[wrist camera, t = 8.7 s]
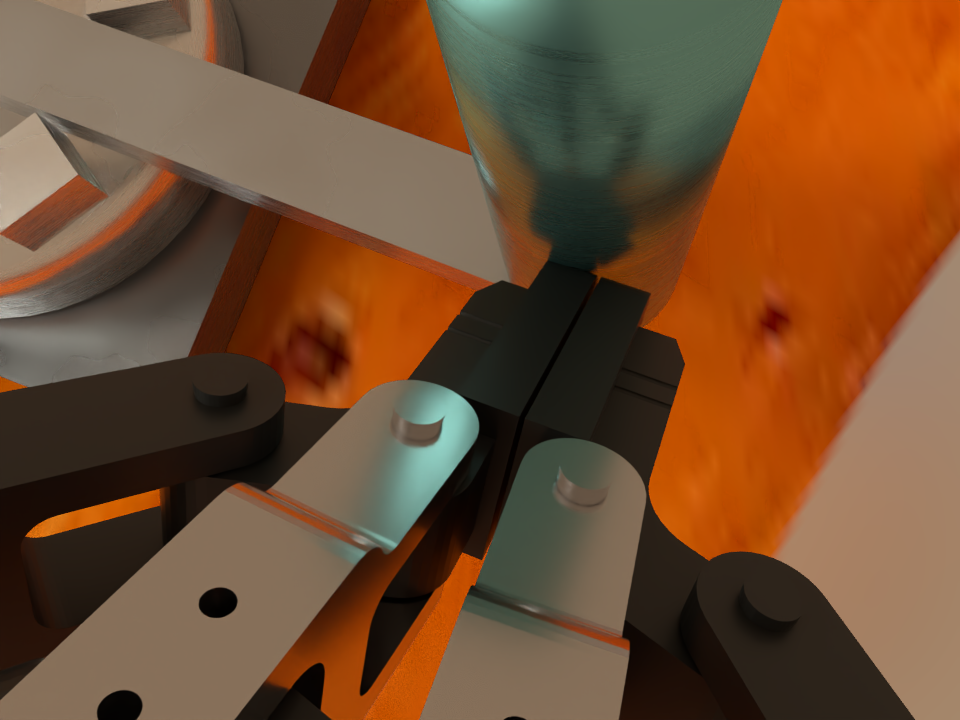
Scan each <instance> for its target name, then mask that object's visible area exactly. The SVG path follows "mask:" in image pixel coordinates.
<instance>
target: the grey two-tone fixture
mask: <svg viewBox="0 0 960 720" xmlns="http://www.w3.org/2000/svg"><path fill="white" fill-rule="evenodd" d="M426 2H427V5H428V8H429V12H430V15H431V19H432V22H433V25H434V29H435V32H436V35H437V39H438V42H439V46H440V49H441V52H442V56H443V59H444V62H445V66H446V69H447V72H448V76H449V79H450V83H451V86H452V89H453V93H454V96H455V99H456V103H457V106H458V110H459V113H460V116H461V120H462V123H463V126H464V130H465V133H466V136H467V140H468V143H469V147H470V150H471V153H472V155H469V154H466V153H463V152H461V151H458V150H455V149H452V148H449V147H447V146H444V145H441V144H438V143H435V142H433V141H430V140H427V139H424V138H421V137H418V136H416V135H413V134H410V133H407V132H404V131H402V130H399V129H396V128H393V127H390V126H387V125H385V124H382V123H379V122H376V121H373V120H371V119H368V118H365V117H362V116H359V115H356V114H354V113H351V112H348V111H345V110H342V109H340V108H337V107H334V106H331V105H328V104H325V103H323V102H320V101H317V100H314V99H311V98H309V97H306V96H303V95H300V94H297V93H294V92H292V91H289V90H286V89H283V88H280V87H278V86H275V85H272V84H269V83H266V82H263V81H261V80H258V79H255V78H252V77H249V76H247V75H244V58H243V51H242V44H241V37H240V32H239V29H238V25H237V22H236V18H235V15H234V12H233V8H232V6H231V4H230V2H229V0H0V318H12V317H24V316H32V315H36V314H41V313H45V312H50V311H54V310H59V309H62V308H65V307H67V306H70V305H73V304H76V303H79V302H81V301H84V300H87V299H89V298H91V297H93V296H95V295H97V294H99V293H101V292H103V291H105V290H107V289H109V288H111V287H113V286H115V285H117V284H118V283H120V282H121V281H123V280H124V279H126V278H127V277H129V276H130V275H132V274H133V273H135V272H136V271H138V270H139V269H141V268H142V267H143V266H145V265H146V264H147V263H148V262H149V261H150V260H152V259H153V258H154V257H155V256H156V255H158V254H159V253H160V252H161V251H162V250H163V249H165V248H166V247H167V246H168V245H169V244H170V242H171V241H172V240H173V239H174V238H175V237H176V236H177V235H178V234H179V233H180V232H181V231H182V230H183V228H184V227H185V226H186V225H187V224H188V223H189V221H190V220H191V219H192V217H193V216H194V215H195V213H196V212H197V210H198V209H199V208H200V206H201V205H202V204H203V202H204V201H205V200H206V198H207V196H208V194H209V193H210V191H211V189H214V190H217V191H220V192H222V193H225V194H227V195H230V196H233V197H235V198H238V199H240V200H243V201H246V202H248V203H251V204H253V205H256V206H259V207H261V208H264V209H266V210H269V211H272V212H274V213H277V214H279V215H282V216H285V217H287V218H290V219H292V220H295V221H298V222H300V223H303V224H305V225H308V226H311V227H313V228H316V229H318V230H321V231H324V232H326V233H329V234H331V235H334V236H337V237H339V238H342V239H344V240H347V241H350V242H352V243H355V244H357V245H360V246H363V247H365V248H368V249H370V250H373V251H376V252H378V253H381V254H383V255H386V256H389V257H391V258H394V259H396V260H399V261H402V262H404V263H407V264H409V265H412V266H415V267H417V268H420V269H422V270H425V271H428V272H430V273H433V274H435V275H438V276H441V277H443V278H446V279H448V280H451V281H454V282H456V283H459V284H461V285H464V286H467V287H469V288H472V289H474V290H477V291H478V290H481V289H483V288H485V287H487V286H490V285H492V284H494V283H496V282H499V281H501V280H504V281H506V282H509V283H512V284H515V285H518V286H521V287H524V288H527V289H528V288H529V287H530V285H531V284H532V282H533V281H534V279H535V278H536V276H537V275H538V273H539V272H540V270H541V269H542V267H543V266H544V264H545V263H546V262H547V260H548V261H551V262H554V263H557V264H560V265H563V266H567V267H571V268H575V269H578V270H582V271H585V272H589V273H592V274H595V275H598V281H597V283H598V282H599V280H600V278H601V277H604V278H607V279H610V280H613V281H616V282H619V283H622V284H625V285H628V286H631V287H634V288H637V289H640V290H643V291H646V292H649V293H651V296H650V300H649V303H648V306H647V309H646V312H645V315H644V318H643V321H642V324H641V327H644V326H645V325H647V324H648V323H649V322H650V321H651V320H653V319H654V318H655V317H656V316H657V315H658V314H659V312H660V311H661V310H662V309H663V308H664V306H665V305H666V303H667V302H668V300H669V299H670V297H671V295H672V293H673V291H674V288H675V286H676V283H677V280H678V278H679V275H680V272H681V270H682V267H683V264H684V262H685V259H686V256H687V254H688V251H689V248H690V246H691V243H692V240H693V238H694V235H695V232H696V230H697V227H698V224H699V222H700V219H701V216H702V214H703V211H704V208H705V206H706V203H707V200H708V198H709V195H710V192H711V190H712V187H713V184H714V182H715V179H716V176H717V174H718V171H719V168H720V166H721V163H722V160H723V158H724V155H725V152H726V150H727V147H728V144H729V142H730V139H731V136H732V134H733V131H734V128H735V126H736V123H737V120H738V118H739V115H740V112H741V110H742V107H743V104H744V102H745V99H746V96H747V94H748V91H749V88H750V86H751V83H752V80H753V78H754V75H755V72H756V70H757V67H758V64H759V62H760V59H761V56H762V54H763V51H764V48H765V46H766V43H767V40H768V38H769V35H770V32H771V30H772V27H773V24H774V22H775V19H776V16H777V14H778V11H779V8H780V6H781V3H782V0H426Z"/></svg>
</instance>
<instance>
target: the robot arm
mask: <svg viewBox="0 0 960 720" xmlns="http://www.w3.org/2000/svg"><path fill="white" fill-rule="evenodd" d="M597 281H598V275H595V274H592V273H589V272H585V271H582V270H578V269H575V268H571V267H567V266H563V265H560V264H557V263H554V262H551V261H548V260H547V262H546V263H545V264H544V266H543V267H542V269H541V270H540V272H539V273H538V275H537V276H536V278H535V279H534V281H533V282H532V284H531V285H530V287H529V288H528V289H527V288H524V287H521V286H518V285H515V284H512V283H509V282H506V281H504V280H501V281H499V282H496V283H494V284H492V285H490V286H487V287H485V288H483V289H481V290H478V291H476V292H475V293H474V294H473V296H472V297H471V298H470V300H469V301H468V302H467V303H466V305H465V306H464V307H463V309H462V310H461V312H460V315H457V316H456V318H455V319H454V320H453V322H452V323H451V324H450V325H449V328H448V330H446V331H445V332H444V333H443V334H442V336H441V337H440V338H439V340H438V341H437V342H436V343H435V345H434V346H433V347H432V349H431V350H430V351H429V353H428V354H427V355H426V356H425V358H424V359H423V360H422V362H421V363H420V364H419V365H418V367H417V368H416V369H415V371H414V372H413V373H412V375H411V376H410V377H409V378H408V380H400V381H393V382H388V383H385V384H382V385H379V386H377V387H375V388H373V389H371V390H370V391H368V392H367V393H366V394H365V395H364V396H363V397H362V398H361V399H360V400H359V401H358V402H357V403H356V404H355V405H354V406H353V407H352V408H345V409H338V408H326V407H319V406H311V405H304V404H296V403H289V402H285V394H286V391H285V385H284V383H283V381H282V379H281V377H280V376H279V375H278V373H277V372H276V371H275V370H273V369H272V368H271V367H270V366H268V365H267V364H265V363H263V362H261V361H259V360H257V359H254V358H251V357H248V356H244V355H239V354H233V353H209V354H201V355H196V356H191V357H185V358H180V359H175V360H170V361H164V362H159V363H154V364H149V365H143V366H138V367H133V368H127V369H122V370H117V371H112V372H106V373H101V374H96V375H91V376H85V377H80V378H75V379H70V380H64V381H59V382H54V383H49V384H43V385H38V386H33V387H28V388H22V389H17V390H12V391H7V392H1V393H0V720H364V718H365V716H366V714H367V713H368V711H369V710H370V708H371V706H372V705H373V703H374V702H375V700H376V699H377V697H378V696H379V694H380V692H381V691H382V689H383V688H384V686H385V685H386V683H387V682H388V680H389V678H390V677H391V675H392V674H393V672H394V671H395V669H396V667H397V666H398V664H399V663H400V661H401V660H402V658H403V657H404V655H405V653H406V652H407V650H408V649H409V647H410V646H411V644H412V643H413V641H414V639H415V638H416V636H417V635H418V633H419V632H420V630H421V629H422V627H423V625H424V624H425V622H426V621H427V619H428V618H429V616H430V615H431V613H432V611H433V610H434V608H435V607H436V605H437V604H438V602H439V600H440V598H441V594H442V590H443V586H444V582H445V581H446V580H447V579H448V577H449V576H450V574H451V572H452V570H453V569H454V567H455V565H456V563H457V561H458V559H459V557H460V555H461V553H462V552H463V553H466V554H468V555H470V556H473V557H475V558H478V559H480V560H482V559H483V557H484V555H485V553H486V551H487V549H488V547H489V545H490V543H491V545H490V547H489V550H488V553H487V555H486V558H485V561H484V563H483V566H482V569H481V571H480V574H479V577H478V579H477V582H476V584H475V586H471V587H470V589H469V591H468V594H467V596H466V598H465V601H464V603H463V606H462V608H461V611H460V614H459V616H458V619H457V622H456V624H455V627H454V629H453V632H452V635H451V637H450V640H449V643H448V645H447V648H446V651H445V653H444V656H443V658H442V661H441V664H440V666H439V669H438V672H437V674H436V677H435V680H434V682H433V685H432V687H431V690H430V693H429V695H428V698H427V701H426V703H425V706H424V709H423V711H422V714H421V716H420V719H419V720H915V719H914V718H913V716H912V715H911V714H910V712H909V711H908V709H907V708H906V707H905V705H904V704H903V703H902V701H901V700H900V698H899V697H898V696H897V695H896V693H895V692H894V690H893V689H892V688H891V686H890V685H889V684H888V682H887V681H886V680H885V678H884V677H883V675H882V674H881V673H880V671H879V670H878V669H877V667H876V666H875V664H874V663H873V662H872V660H871V659H870V658H869V656H868V655H867V654H866V653H865V651H864V649H863V648H862V647H861V645H860V644H859V643H858V642H857V640H856V639H855V637H854V636H853V634H852V633H851V632H850V630H849V629H848V628H847V626H846V625H845V624H844V622H843V621H842V619H841V618H840V617H839V615H838V614H837V613H836V611H835V610H834V609H833V607H832V606H831V605H830V603H829V602H828V600H827V599H826V598H825V596H824V595H823V594H822V593H821V592H820V590H819V589H818V588H817V587H816V586H815V585H814V584H813V583H812V582H811V581H810V580H809V579H807V578H806V577H805V576H804V575H802V574H801V573H800V572H798V571H797V570H795V569H793V568H792V567H790V566H788V565H787V564H785V563H783V562H781V561H778V560H776V559H774V558H771V557H768V556H765V555H761V554H757V553H752V552H729V553H725V554H721V555H719V556H717V557H714V558H712V559H711V560H710V561H708V560H707V559H705V558H704V557H702V556H701V555H699V554H698V553H696V552H695V551H694V550H692V549H691V548H689V547H688V546H686V545H685V544H684V543H682V542H681V541H680V540H678V539H677V538H676V537H675V536H674V535H673V534H672V533H671V532H670V531H669V530H668V529H667V528H666V527H665V526H664V524H663V523H662V522H661V521H660V519H659V518H658V516H657V515H656V513H655V511H654V509H653V507H652V504H651V501H650V497H649V488H648V486H649V480H650V476H651V473H652V470H653V466H654V463H655V460H656V457H657V453H658V450H659V447H660V444H661V440H662V437H663V434H664V431H665V427H666V424H667V421H668V417H669V414H670V411H671V407H672V404H673V401H674V398H675V395H676V391H677V388H678V385H679V382H680V378H681V375H682V372H683V369H684V365H685V363H684V360H683V358H682V355H681V352H680V349H679V346H678V344H677V341H676V339H674V338H671V337H668V336H665V335H662V334H659V333H656V332H653V331H650V330H647V329H644V328H642V327H641V324H642V321H643V318H644V315H645V312H646V309H647V306H648V303H649V300H650V296H651V293H649V292H646V291H643V290H640V289H637V288H634V287H631V286H628V285H625V284H622V283H619V282H616V281H613V280H610V279H607V278H604V277H601V278H600V280H599V282H598V283H597ZM156 489H160V504H161V506H157V507H153V508H150V509H146V510H142V511H139V512H135V513H131V514H128V515H124V516H120V517H116V518H113V519H109V520H105V521H102V522H98V523H94V524H91V525H87V526H83V527H80V528H76V529H72V530H69V531H65V532H61V533H58V534H54V535H50V536H46V537H40V538H30V537H25V536H26V534H27V533H28V532H29V531H30V530H31V529H32V528H33V527H35V526H36V525H37V524H39V523H41V522H42V521H44V520H46V519H48V518H51V517H54V516H57V515H61V514H64V513H68V512H72V511H76V510H80V509H84V508H87V507H91V506H95V505H99V504H103V503H106V502H110V501H114V500H118V499H122V498H126V497H129V496H133V495H137V494H141V493H145V492H149V491H152V490H156ZM491 541H492V542H491Z"/></svg>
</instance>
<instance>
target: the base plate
mask: <svg viewBox="0 0 960 720" xmlns="http://www.w3.org/2000/svg"><path fill="white" fill-rule="evenodd" d="M229 2H230V4H231V6H232V8H233V12H234V15H235V18H236V22H237V25H238V29H239V32H240V37H241V44H242V51H243V58H244V75H247V76H249V77H252V78H255V79H258V80H261V81H263V82H266V83H269V84H272V85H275V86H278V87H280V88H283V89H286V90H289V91H292V92H294V93H297V94H300V95H303V96H306V97H309V98H311V99H314V100H317V101H320V102H323V103H325V104H328V102H329V99H330V97H331V94H332V92H333V89H334V87H335V85H336V82H337V80H338V77H339V75H340V73H341V70H342V68H343V65H344V63H345V61H346V58H347V56H348V53H349V51H350V48H351V46H352V44H353V41H354V39H355V36H356V34H357V32H358V29H359V27H360V24H361V22H362V19H363V17H364V15H365V12H366V10H367V7H368V5H369V3H370V0H229ZM280 217H281V215H279V214H277V213H274V212H272V211H269V210H266V209H264V208H261V207H259V206H256V205H253V204H251V203H248V202H246V201H243V200H240V199H238V198H235V197H233V196H230V195H227V194H225V193H222V192H220V191H217V190H214V189H211V191H210V193H209V194H208V196H207V198H206V200H205V201H204V202H203V204H202V205H201V206H200V208H199V209H198V210H197V212H196V213H195V215H194V216H193V217H192V219H191V220H190V221H189V223H188V224H187V225H186V226H185V227H184V228H183V230H182V231H181V232H180V233H179V234H178V235H177V236H176V237H175V238H174V239H173V240H172V241H171V242H170V244H169V245H168V246H167V247H166V248H165V249H163V250H162V251H161V252H160V253H159V254H158V255H156V256H155V257H154V258H153V259H152V260H150V261H149V262H148V263H147V264H146V265H145V266H143V267H142V268H141V269H139V270H138V271H136V272H135V273H133V274H132V275H130V276H129V277H127V278H126V279H124V280H123V281H121V282H120V283H118V284H117V285H115V286H113V287H111V288H109V289H107V290H105V291H103V292H101V293H99V294H97V295H95V296H93V297H91V298H89V299H87V300H84V301H81V302H79V303H76V304H73V305H70V306H67V307H65V308H62V309H59V310H54V311H50V312H45V313H41V314H36V315H32V316H24V317H12V318H0V376H1V377H3V378H6V379H9V380H11V381H14V382H16V383H19V384H22V385H24V386H27V387H33V386H38V385H43V384H49V383H54V382H59V381H64V380H70V379H75V378H80V377H85V376H91V375H96V374H101V373H106V372H112V371H117V370H122V369H127V368H133V367H138V366H143V365H149V364H154V363H159V362H164V361H170V360H175V359H180V358H185V357H191V356H196V355H201V354H209V353H225V350H226V348H227V345H228V343H229V340H230V338H231V336H232V333H233V331H234V328H235V326H236V324H237V321H238V319H239V316H240V314H241V311H242V309H243V307H244V304H245V302H246V299H247V297H248V295H249V292H250V290H251V287H252V285H253V283H254V280H255V278H256V275H257V273H258V270H259V268H260V266H261V263H262V261H263V258H264V256H265V254H266V251H267V249H268V246H269V244H270V242H271V239H272V237H273V234H274V232H275V229H276V227H277V225H278V222H279V220H280Z"/></svg>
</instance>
